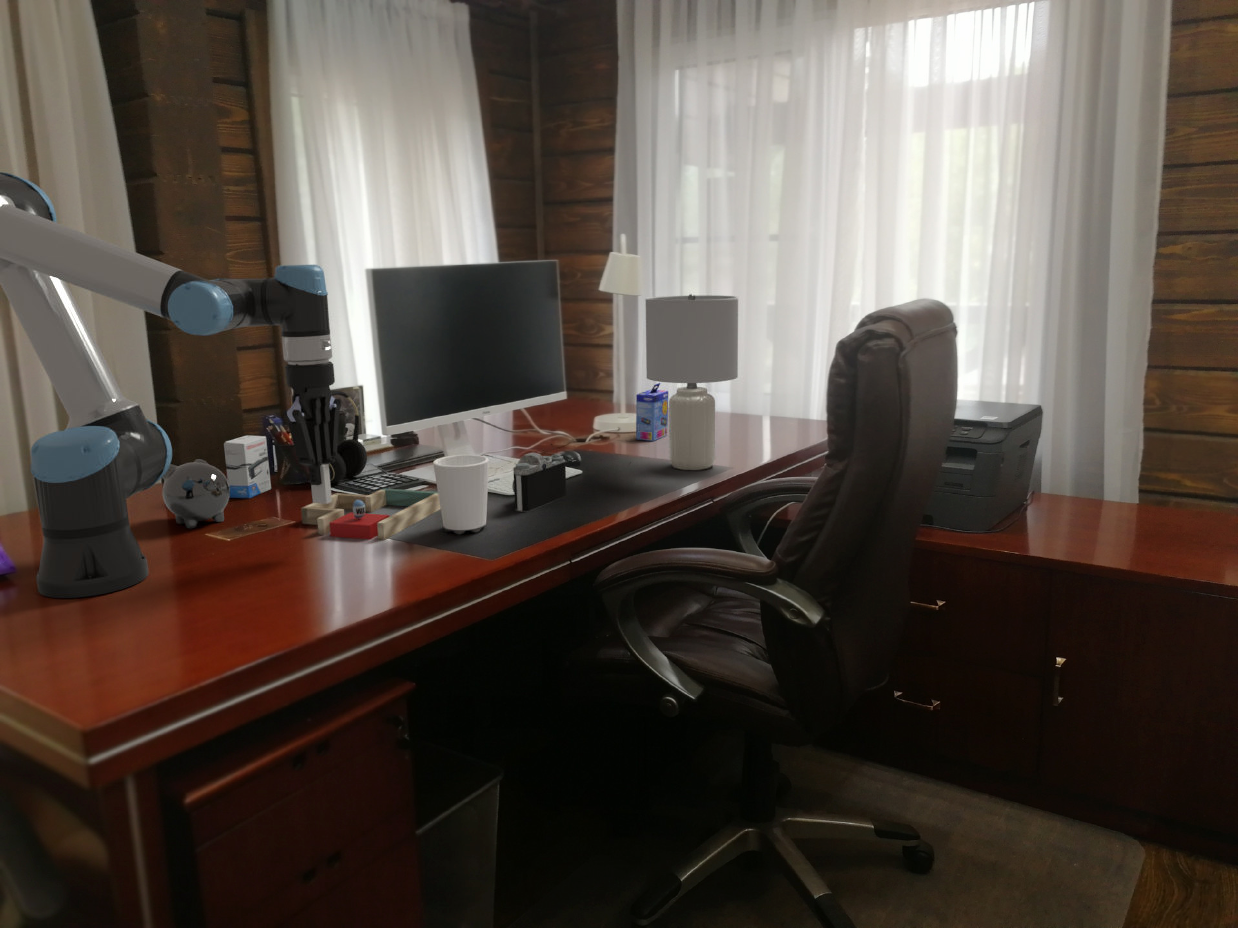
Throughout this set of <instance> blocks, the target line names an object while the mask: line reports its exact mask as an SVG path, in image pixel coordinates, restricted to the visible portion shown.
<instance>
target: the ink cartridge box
mask: <svg viewBox="0 0 1238 928" xmlns="http://www.w3.org/2000/svg"><path fill="white" fill-rule="evenodd" d="M660 386H661V382H659V383H656V384H654V385H653V386H652V388H651V389H649V390H645V391H642V392H640V393H637V394H636V398H635V401H636V404H635V405H636V407H635V409H636V410H635V411H636V412H635V414H636V415H635V418H636V419H635V420H636V421H635V440H638V441H647V442H655V441H657V440H659V439H661V438H664V437H667V436H668V428H669V391H668V390H665V389H664V390H663V389H662V390H661V389H659V387H660Z"/></svg>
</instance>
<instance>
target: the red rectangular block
mask: <svg viewBox="0 0 1238 928" xmlns="http://www.w3.org/2000/svg"><path fill="white" fill-rule="evenodd" d="M388 517H390V514H379V513H378V514H377V513H367V512H366V508H365V504H364V503H363V502H362V501H361V500H356V501H355V502H354V504H353V513H348V514H346V515H344V516H342V517H340V518H338V519H336V520H334V521H332V522H330V523H329V524H330V533H329V535H330V537H331V538H345V539H346V538H347V539H358V540H362V539H363V540H373V539H374V538H376V537H378V527H377V523H378V522H380V521H382V520H384V519H386V518H388Z"/></svg>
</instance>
